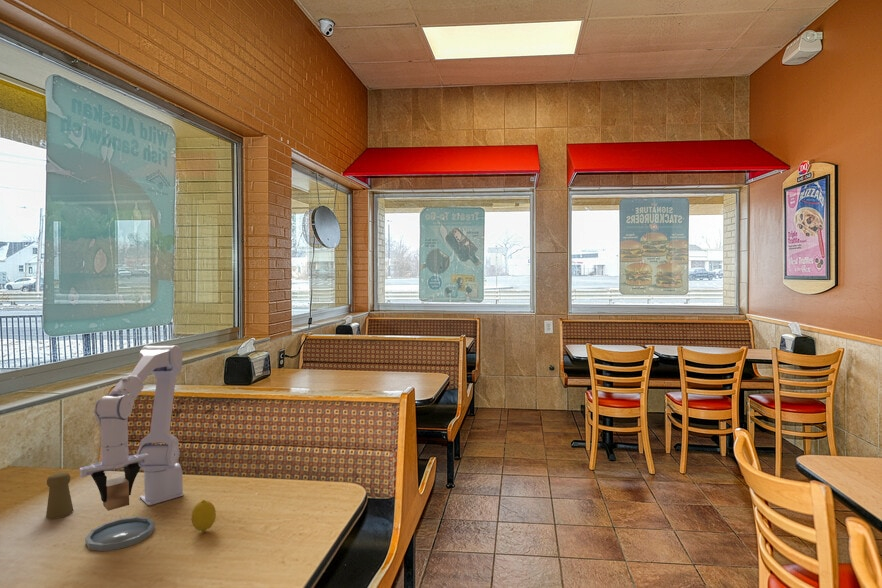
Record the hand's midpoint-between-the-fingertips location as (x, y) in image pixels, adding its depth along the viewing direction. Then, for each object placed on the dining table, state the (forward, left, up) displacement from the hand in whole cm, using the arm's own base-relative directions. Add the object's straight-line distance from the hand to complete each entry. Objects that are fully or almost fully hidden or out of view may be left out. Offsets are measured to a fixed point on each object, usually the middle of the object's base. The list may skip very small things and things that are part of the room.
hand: (116, 497), depth 129 cm
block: (0, 0, -2) cm, 2 cm away
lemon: (-15, +15, -9) cm, 24 cm away
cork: (+8, -24, -9) cm, 26 cm away
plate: (0, +2, -9) cm, 9 cm away
